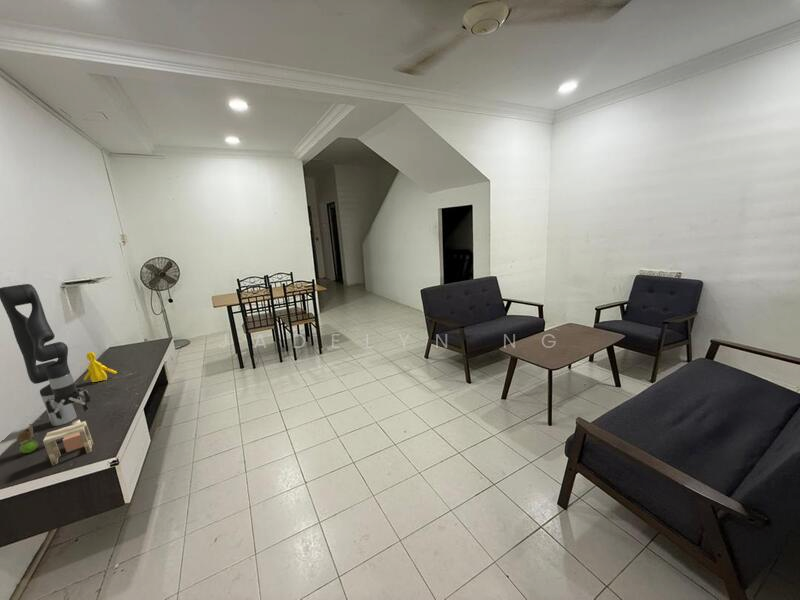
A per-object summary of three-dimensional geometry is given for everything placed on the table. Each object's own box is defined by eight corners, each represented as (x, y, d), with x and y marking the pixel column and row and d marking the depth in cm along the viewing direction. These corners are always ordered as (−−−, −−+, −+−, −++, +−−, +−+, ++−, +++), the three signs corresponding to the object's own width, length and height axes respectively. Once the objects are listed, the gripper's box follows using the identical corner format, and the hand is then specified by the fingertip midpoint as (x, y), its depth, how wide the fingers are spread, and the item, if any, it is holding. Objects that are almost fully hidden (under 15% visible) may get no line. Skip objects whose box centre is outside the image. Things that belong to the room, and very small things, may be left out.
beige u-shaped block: (56, 456, 138) (47, 432, 135) (93, 443, 145) (85, 420, 142) (52, 465, 132) (42, 441, 130) (91, 451, 139) (82, 428, 137)
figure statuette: (119, 375, 221) (110, 346, 216) (115, 379, 214) (106, 349, 209) (86, 382, 213) (76, 352, 208) (81, 387, 206) (70, 356, 201)
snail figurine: (45, 445, 147) (36, 423, 144) (30, 455, 140) (20, 432, 138) (34, 446, 146) (24, 424, 144) (18, 456, 140) (8, 433, 137)
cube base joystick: (72, 436, 152) (67, 422, 150) (89, 430, 156) (84, 417, 154) (66, 452, 140) (61, 437, 139) (85, 445, 144) (80, 431, 142)
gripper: (84, 376, 154) (94, 405, 158) (42, 386, 145) (53, 417, 149) (82, 381, 148) (92, 411, 152) (38, 393, 140) (50, 424, 144)
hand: (73, 414), depth 151 cm, fingers open, 8 cm apart
